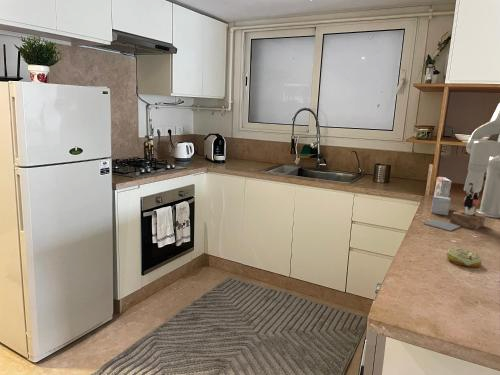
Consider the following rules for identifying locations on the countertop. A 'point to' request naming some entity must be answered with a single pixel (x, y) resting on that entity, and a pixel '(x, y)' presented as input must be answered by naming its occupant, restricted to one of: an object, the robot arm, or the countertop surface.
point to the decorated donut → (464, 257)
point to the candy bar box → (442, 187)
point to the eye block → (467, 220)
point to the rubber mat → (442, 225)
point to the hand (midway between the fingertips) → (470, 205)
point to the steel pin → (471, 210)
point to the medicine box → (440, 205)
